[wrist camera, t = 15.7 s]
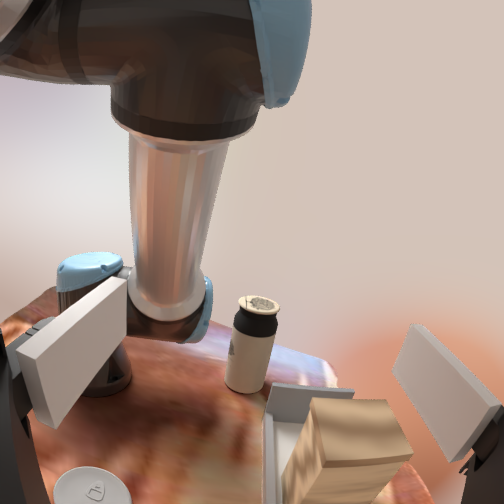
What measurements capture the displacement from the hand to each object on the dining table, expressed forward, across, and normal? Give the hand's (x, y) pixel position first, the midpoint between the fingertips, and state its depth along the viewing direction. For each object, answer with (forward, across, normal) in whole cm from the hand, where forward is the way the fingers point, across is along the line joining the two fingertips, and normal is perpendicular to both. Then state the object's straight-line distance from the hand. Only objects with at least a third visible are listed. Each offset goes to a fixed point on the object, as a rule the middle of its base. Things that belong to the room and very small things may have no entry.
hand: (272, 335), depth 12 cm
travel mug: (+38, +3, -32) cm, 50 cm away
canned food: (-1, -12, -32) cm, 34 cm away
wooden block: (+9, +13, -30) cm, 34 cm away
